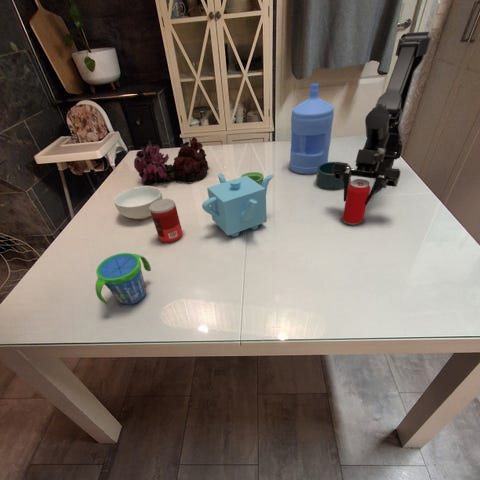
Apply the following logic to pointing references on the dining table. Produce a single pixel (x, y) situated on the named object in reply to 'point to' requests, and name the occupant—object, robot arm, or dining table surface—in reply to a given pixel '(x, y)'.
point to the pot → (328, 177)
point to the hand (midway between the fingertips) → (354, 202)
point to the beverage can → (356, 201)
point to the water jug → (310, 133)
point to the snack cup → (122, 277)
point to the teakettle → (237, 204)
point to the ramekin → (255, 176)
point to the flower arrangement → (183, 170)
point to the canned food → (166, 220)
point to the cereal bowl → (137, 201)
